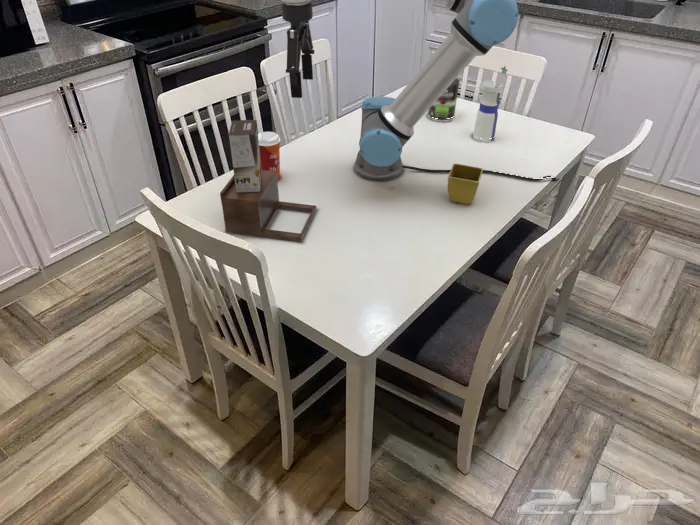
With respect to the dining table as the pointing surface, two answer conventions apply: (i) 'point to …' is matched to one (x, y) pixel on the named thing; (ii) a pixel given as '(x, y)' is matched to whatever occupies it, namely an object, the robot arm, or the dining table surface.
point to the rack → (259, 209)
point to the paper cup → (269, 152)
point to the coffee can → (445, 104)
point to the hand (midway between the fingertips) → (302, 87)
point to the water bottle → (488, 110)
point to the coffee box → (245, 155)
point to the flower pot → (463, 183)
